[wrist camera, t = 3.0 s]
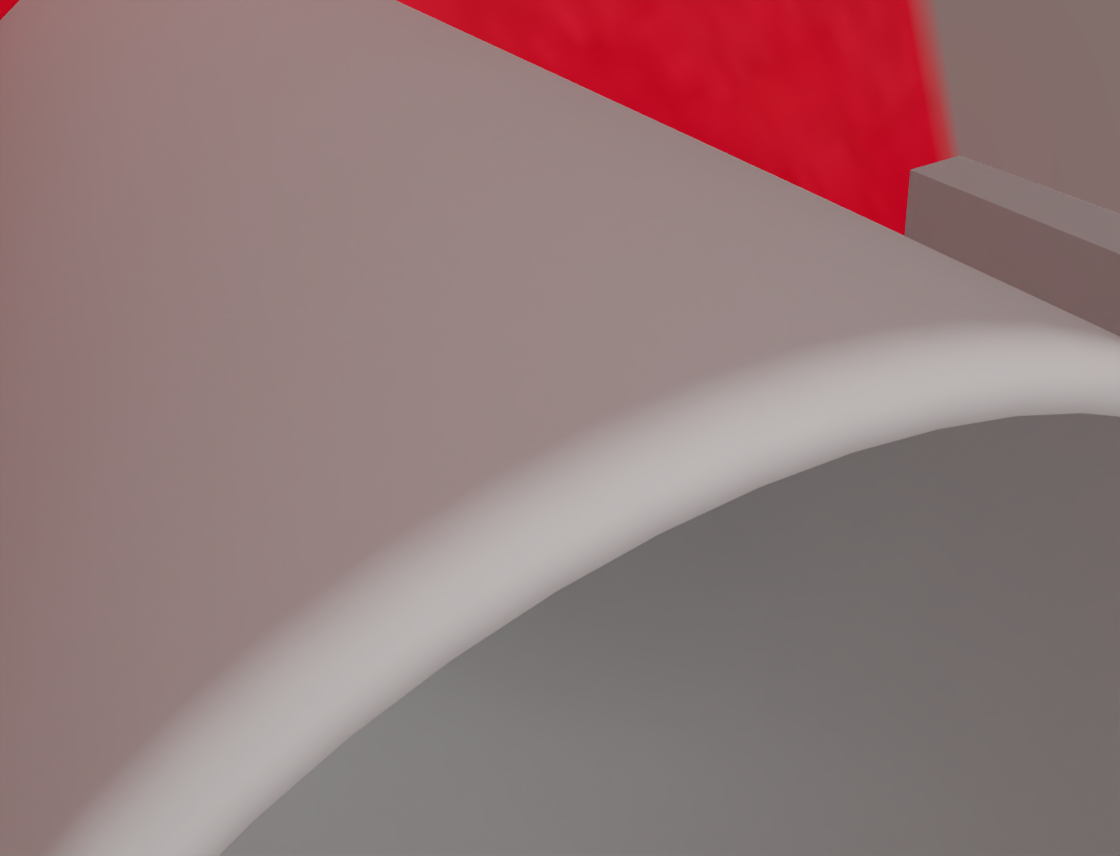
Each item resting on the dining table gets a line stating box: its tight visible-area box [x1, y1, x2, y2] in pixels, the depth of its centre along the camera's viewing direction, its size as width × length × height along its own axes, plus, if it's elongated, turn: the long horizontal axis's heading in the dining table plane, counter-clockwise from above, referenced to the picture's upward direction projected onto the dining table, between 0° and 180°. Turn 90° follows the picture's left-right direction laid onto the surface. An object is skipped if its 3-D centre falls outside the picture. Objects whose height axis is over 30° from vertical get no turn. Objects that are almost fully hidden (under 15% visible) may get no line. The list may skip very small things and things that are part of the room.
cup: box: [0, 0, 1120, 856], centre depth 12 cm, size 8×8×16 cm
